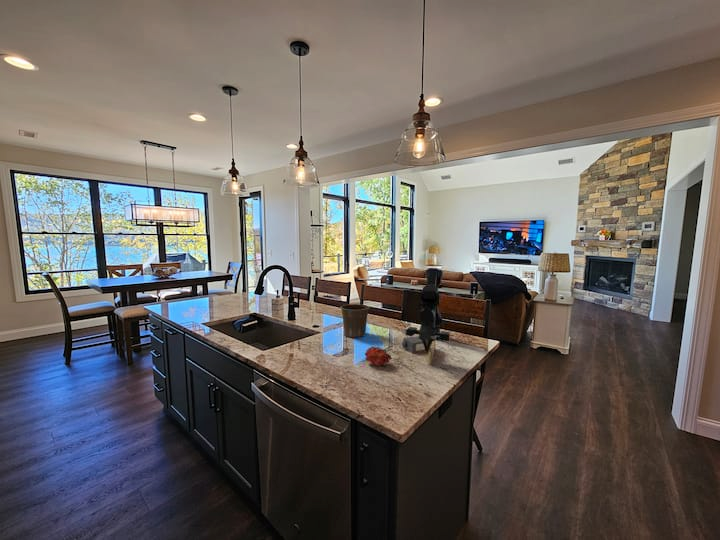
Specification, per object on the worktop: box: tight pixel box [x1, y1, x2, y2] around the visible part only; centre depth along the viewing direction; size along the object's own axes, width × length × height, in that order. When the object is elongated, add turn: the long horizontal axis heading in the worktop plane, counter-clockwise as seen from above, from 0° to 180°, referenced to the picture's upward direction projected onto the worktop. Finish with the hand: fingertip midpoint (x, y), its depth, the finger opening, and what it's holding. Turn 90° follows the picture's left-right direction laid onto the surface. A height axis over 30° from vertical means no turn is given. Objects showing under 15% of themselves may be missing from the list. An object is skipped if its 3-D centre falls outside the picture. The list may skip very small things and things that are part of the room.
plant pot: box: [340, 303, 370, 338], centre depth 168 cm, size 16×16×16 cm
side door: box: [428, 340, 436, 365], centre depth 136 cm, size 18×1×5 cm, turn 160°
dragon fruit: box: [364, 345, 393, 368], centre depth 127 cm, size 8×8×12 cm
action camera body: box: [401, 335, 433, 354], centre depth 146 cm, size 13×8×6 cm, turn 114°
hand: (426, 352), depth 131 cm, fingers closed
